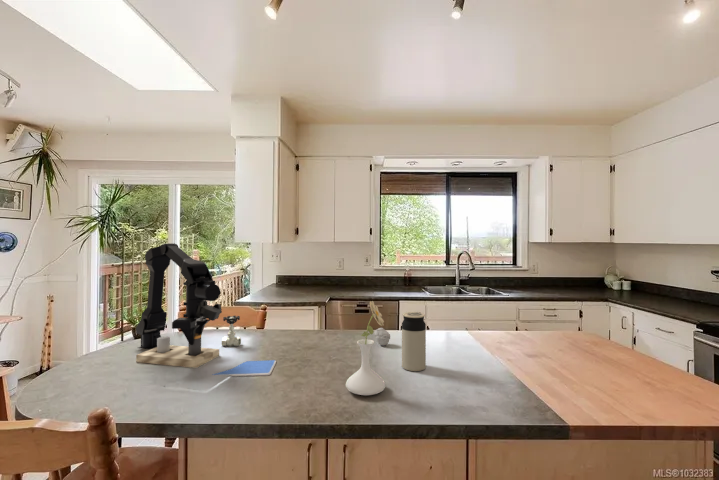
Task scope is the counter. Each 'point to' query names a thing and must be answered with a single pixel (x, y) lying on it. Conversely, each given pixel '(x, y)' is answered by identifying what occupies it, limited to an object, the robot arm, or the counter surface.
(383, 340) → the crumpled paper ball
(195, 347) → the capped plug
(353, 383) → the flower in vase
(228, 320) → the valve
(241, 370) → the tablet computer
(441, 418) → the counter surface
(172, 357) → the wooden socket board
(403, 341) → the travel mug
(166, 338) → the grey plug
